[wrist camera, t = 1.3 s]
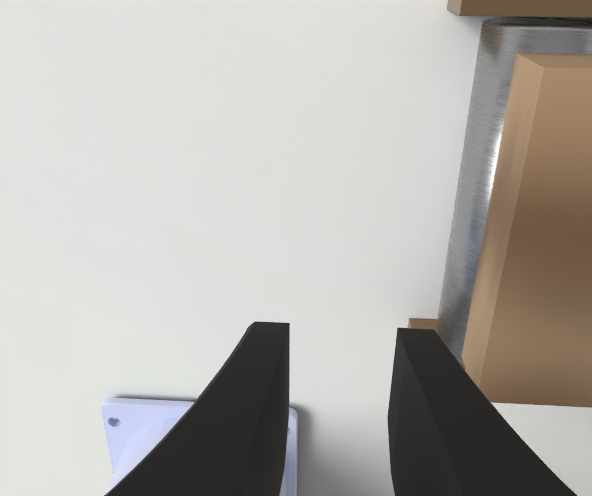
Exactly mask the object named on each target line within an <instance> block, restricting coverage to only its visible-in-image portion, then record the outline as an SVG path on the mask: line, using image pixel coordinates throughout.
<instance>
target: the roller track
mask: <svg viewBox="0 0 592 496" xmlns="http://www.w3.org/2000/svg"><path fill="white" fill-rule="evenodd" d="M447 10H449V11H451V12H453V13H455V14H457V15H459V16H521V17H588V18H592V0H448V5H447ZM516 53H550V54H592V23H588V22H579V21H568V20H554V19H526V18H510V19H491V20H485V21H483V22H482V27H481V34H480V41H479V47H478V54H477V61H476V67H475V74H474V81H473V87H472V94H471V101H470V107H469V114H468V120H467V127H466V134H465V140H464V147H463V154H462V160H461V167H460V174H459V180H458V187H457V194H456V200H455V207H454V214H453V220H452V227H451V233H450V240H449V247H448V253H447V260H446V267H445V273H444V280H443V287H442V293H441V300H440V307H439V313H438V320H431V319H409V324H408V328H413V329H434V330H435V331H436V333H437V334H438V335H439V336H440V337H441V339H442V340H443V341H444V343H445V344H446V346H447V347H448V348H449V350H450V351H451V352H452V354H453V355H454V357H455V358H456V359H457V361H458V362H459V363H460V365H461V366H462V367H463V369H464V370H466V369H465V366H464V363H463V359H462V351H463V346H464V340H465V335H466V329H467V324H468V318H469V312H470V307H471V301H472V296H473V290H474V285H475V279H476V274H477V268H478V263H479V257H480V252H481V246H482V241H483V235H484V229H485V224H486V218H487V213H488V207H489V202H490V196H491V191H492V185H493V180H494V174H495V169H496V163H497V157H498V152H499V146H500V141H501V135H502V130H503V124H504V119H505V113H506V108H507V102H508V97H509V91H510V85H511V80H512V74H513V69H514V63H515V58H516Z"/></svg>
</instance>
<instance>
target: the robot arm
mask: <svg viewBox="0 0 592 496" xmlns="http://www.w3.org/2000/svg"><path fill="white" fill-rule="evenodd" d="M289 325H290V323H276V322H254V323H252V324H251V325H250V326H249V327H248V328H247V330H246V332H245V334H244V335H243V337H242V338H241V340H240V342H239V343H238V345H237V346H236V348H235V349H234V351H233V352H232V354H231V355H230V356H229V358H228V359H227V361H226V362H225V363H224V365H223V366H222V368H221V369H220V370H219V372H218V373H217V374H216V376H215V377H214V378H213V379H212V381H211V382H210V383H209V385H208V386H207V387H206V388H205V390H204V391H203V392H202V394H201V395H200V396H199V397H198V399H197V400H196V401H195V402H189V401H169V400H150V399H130V398H109V399H107V400H105V402H104V404H103V405H102V407H101V414H102V419H103V424H104V429H105V434H106V439H107V444H108V449H109V454H110V459H111V464H112V469H113V474H114V475H113V477H112V480H111V482H110V484H109V487H108V489H107V491H106V494H105V495H104V496H297V448H298V415H297V412H296V411H295V410H294V409H292V408H290V407H289ZM113 417H114V418H117V419H119V420H116V419H114V418H113ZM288 428H289V429H288ZM388 433H389V449H390V464H391V475H392V481H393V487H394V492H395V496H577V495H576V494H575V493H574V492H573V491H572V490H571V489H570V488H568V487H567V486H566V485H565V484H564V483H563V482H562V481H561V480H560V479H559V478H558V477H557V476H556V475H555V474H554V473H553V472H552V471H551V470H550V469H549V468H548V467H547V466H546V464H545V463H544V462H543V461H542V460H541V459H540V458H539V457H538V456H537V455H536V454H535V453H534V452H533V451H532V449H531V448H530V447H529V446H528V445H527V444H526V443H525V442H524V441H523V440H522V439H521V438H520V436H519V435H518V434H517V433H516V432H515V431H514V430H513V429H512V427H511V426H510V425H509V424H508V423H507V422H506V420H505V419H504V418H503V417H502V416H501V415H500V413H499V412H498V411H497V410H496V409H495V407H494V406H493V405H492V404H491V403H490V401H489V400H488V399H487V398H486V397H485V395H484V394H483V393H482V392H481V390H480V389H479V388H478V387H477V385H476V384H475V383H474V382H473V380H472V379H471V378H470V376H469V375H468V374H467V373H466V371H465V370H464V369H463V367H462V366H461V365H460V363H459V362H458V361H457V359H456V358H455V357H454V355H453V354H452V352H451V351H450V350H449V348H448V347H447V346H446V344H445V343H444V341H443V340H442V339H441V337H440V336H439V335H438V334H437V333H436V331H435V330H434V329H413V328H398V329H397V338H396V347H395V356H394V365H393V374H392V383H391V392H390V401H389V410H388Z"/></svg>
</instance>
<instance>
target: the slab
mask: <svg viewBox="0 0 592 496" xmlns="http://www.w3.org/2000/svg"><path fill="white" fill-rule="evenodd" d="M462 359H463V363H464V366H465V369H466V372H467V374H468V375H469V376H470V378H471V379H472V380H473V382H474V383H475V384H476V385H477V387H478V388H479V389H480V390H481V392H482V393H483V394H484V395H485V397H486V398H487V399H488V400H489V401H490V402H494V403H514V404H534V405H554V406H574V407H592V54H550V53H516V58H515V63H514V69H513V74H512V80H511V85H510V91H509V97H508V102H507V108H506V113H505V119H504V124H503V130H502V135H501V141H500V146H499V152H498V157H497V163H496V169H495V174H494V180H493V185H492V191H491V196H490V202H489V207H488V213H487V218H486V224H485V229H484V235H483V241H482V246H481V252H480V257H479V263H478V268H477V274H476V279H475V285H474V290H473V296H472V301H471V307H470V312H469V318H468V324H467V329H466V335H465V340H464V346H463V351H462Z"/></svg>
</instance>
